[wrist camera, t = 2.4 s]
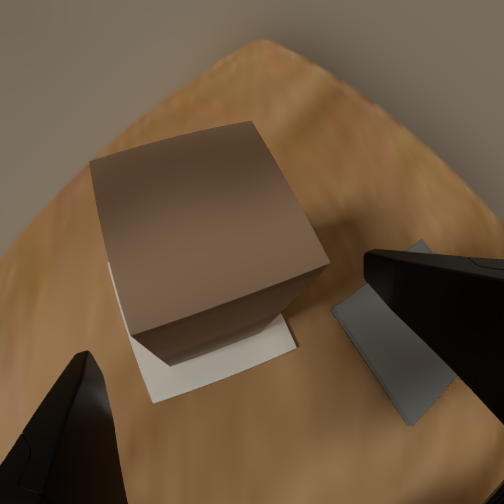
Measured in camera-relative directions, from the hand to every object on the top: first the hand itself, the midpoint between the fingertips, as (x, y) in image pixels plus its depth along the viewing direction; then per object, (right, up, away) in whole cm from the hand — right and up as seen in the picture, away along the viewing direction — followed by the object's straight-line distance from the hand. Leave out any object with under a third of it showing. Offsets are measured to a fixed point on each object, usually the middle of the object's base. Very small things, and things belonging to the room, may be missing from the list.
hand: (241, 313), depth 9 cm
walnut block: (-3, -1, +10) cm, 10 cm away
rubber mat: (+12, -4, +11) cm, 17 cm away
